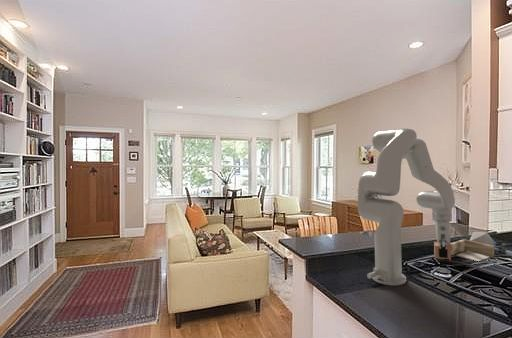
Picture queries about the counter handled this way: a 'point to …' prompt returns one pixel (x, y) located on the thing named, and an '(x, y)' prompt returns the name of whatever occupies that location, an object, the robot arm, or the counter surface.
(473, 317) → the counter surface
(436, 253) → the cube
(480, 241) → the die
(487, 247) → the tan box
